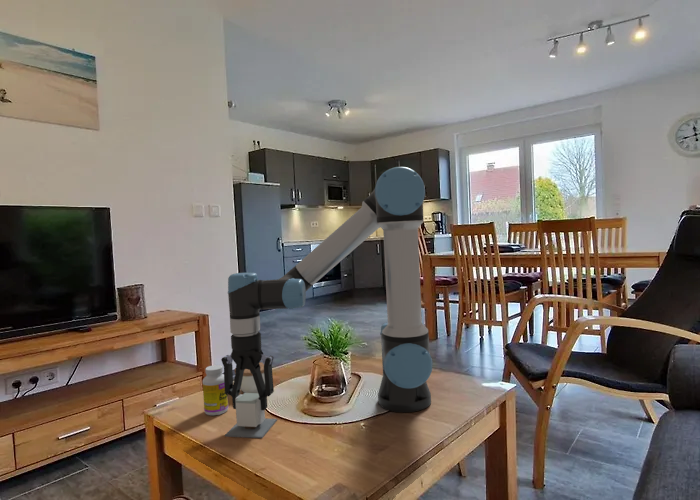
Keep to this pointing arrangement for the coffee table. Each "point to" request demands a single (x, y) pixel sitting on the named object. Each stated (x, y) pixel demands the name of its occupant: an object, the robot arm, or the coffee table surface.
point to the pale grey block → (247, 410)
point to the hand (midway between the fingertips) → (250, 421)
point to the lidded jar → (250, 380)
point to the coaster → (251, 430)
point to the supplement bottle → (214, 391)
